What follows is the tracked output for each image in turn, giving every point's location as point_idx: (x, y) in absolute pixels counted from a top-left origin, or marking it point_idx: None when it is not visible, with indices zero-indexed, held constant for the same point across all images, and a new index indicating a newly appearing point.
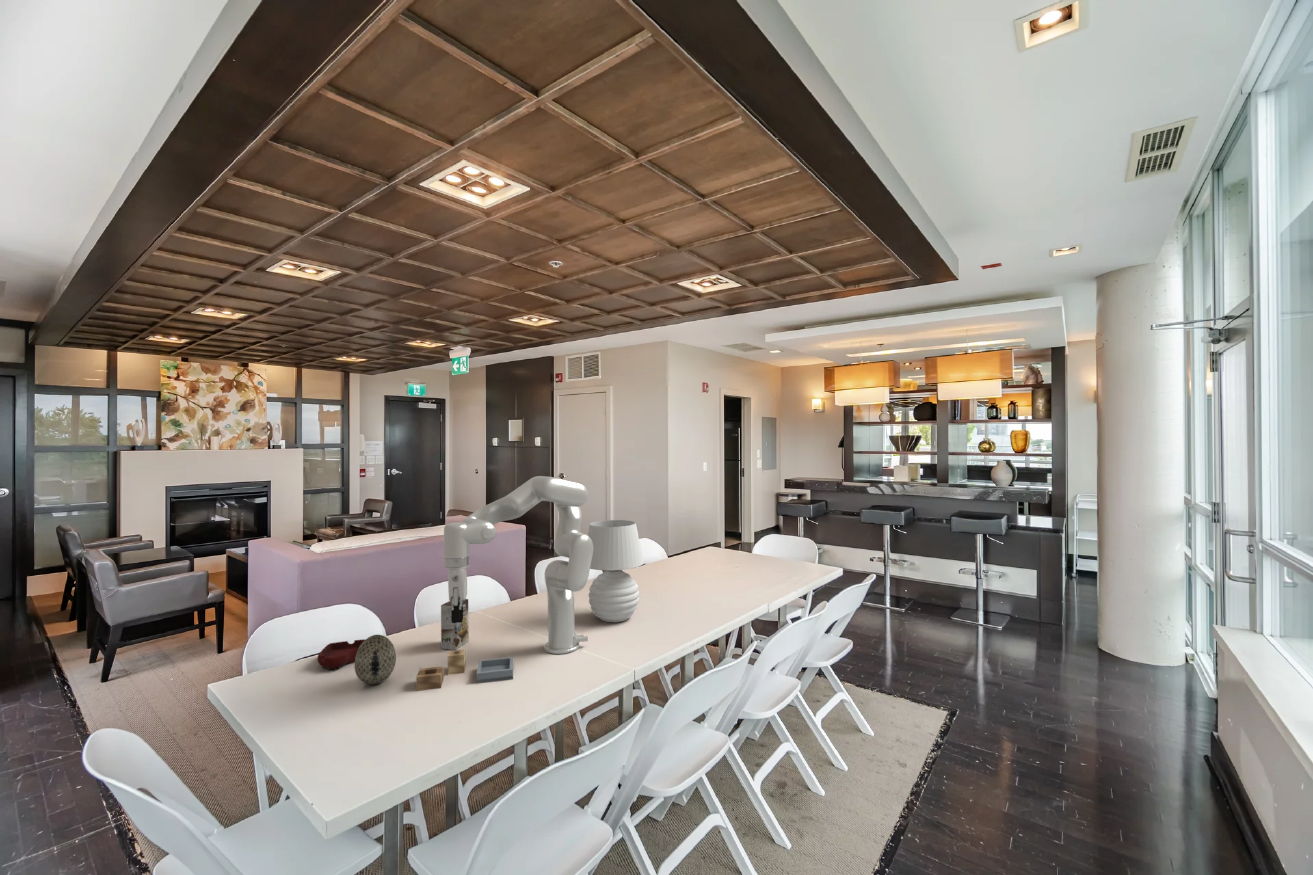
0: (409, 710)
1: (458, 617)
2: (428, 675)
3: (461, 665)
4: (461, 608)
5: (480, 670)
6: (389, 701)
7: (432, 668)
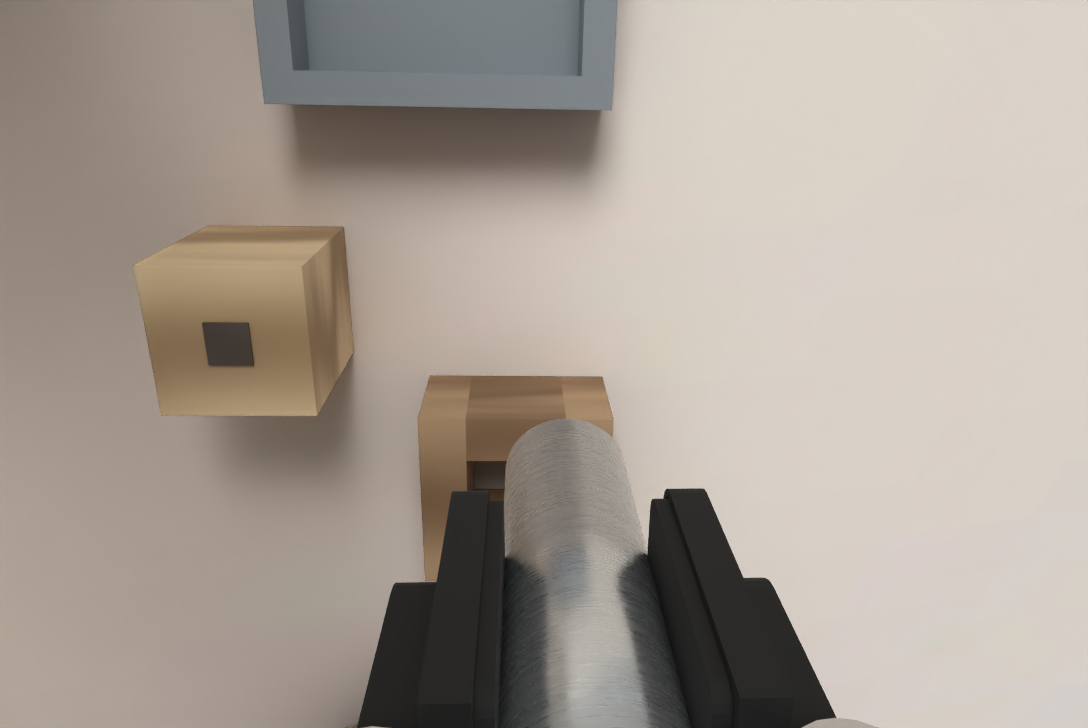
0: (888, 517)
1: (781, 625)
2: None
3: (330, 265)
4: (497, 700)
5: (524, 75)
6: None
7: (447, 495)
